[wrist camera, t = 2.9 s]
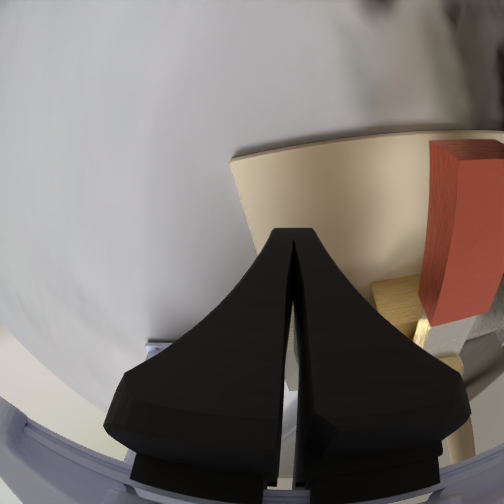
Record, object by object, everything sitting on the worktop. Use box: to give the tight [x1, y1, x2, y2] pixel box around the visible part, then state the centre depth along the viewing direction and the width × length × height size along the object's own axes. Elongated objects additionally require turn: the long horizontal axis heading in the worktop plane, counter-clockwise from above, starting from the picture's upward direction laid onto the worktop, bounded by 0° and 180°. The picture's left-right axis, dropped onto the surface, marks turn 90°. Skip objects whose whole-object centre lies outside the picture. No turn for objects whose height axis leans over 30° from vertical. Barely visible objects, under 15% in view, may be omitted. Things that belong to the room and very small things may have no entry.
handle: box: [446, 417, 476, 465], centre depth 22 cm, size 5×6×15 cm
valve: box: [285, 273, 504, 391], centre depth 16 cm, size 18×6×4 cm, turn 105°
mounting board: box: [229, 130, 504, 302], centre depth 16 cm, size 22×18×1 cm
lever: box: [413, 139, 504, 375], centre depth 11 cm, size 15×4×2 cm, turn 15°
